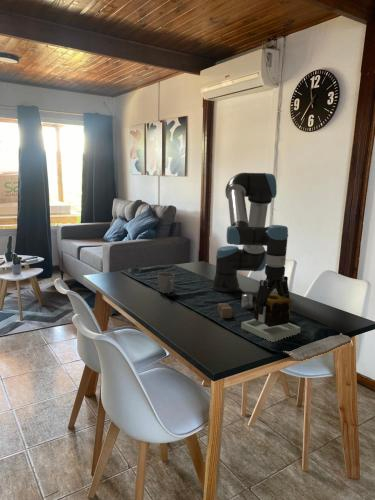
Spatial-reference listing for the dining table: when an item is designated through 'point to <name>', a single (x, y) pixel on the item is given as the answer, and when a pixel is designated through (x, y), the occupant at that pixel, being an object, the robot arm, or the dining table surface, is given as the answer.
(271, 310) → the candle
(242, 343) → the dining table surface
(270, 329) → the tray
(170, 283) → the mug
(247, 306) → the grey tin
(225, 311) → the walnut block
